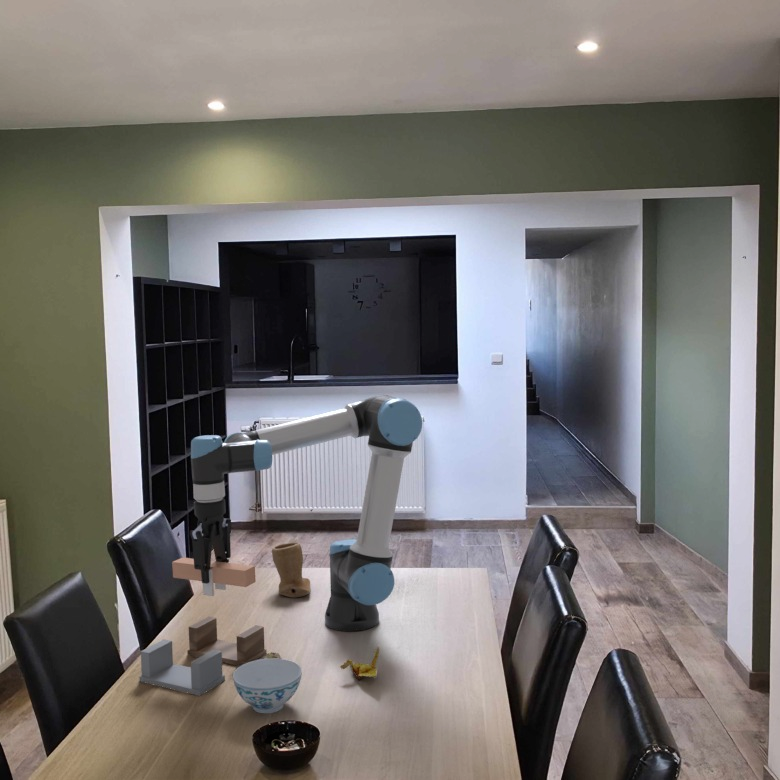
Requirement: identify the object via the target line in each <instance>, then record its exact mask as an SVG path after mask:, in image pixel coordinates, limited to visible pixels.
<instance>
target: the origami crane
mask: <svg viewBox="0 0 780 780" xmlns="http://www.w3.org/2000/svg"><path fill="white" fill-rule="evenodd" d="M379 653H380V647H379V646H377V647H376V649H375V652H374V653H373V658H372V660H371V664H370V663H363V662H355V664H354V662H353V660H352V659H347V660H346V661H345V662H343V663H342V665H340V667H339V668H340V669H341V670H346V669H348V668H349V666H350V668H351V669H350V670H351V672H353V673H354V675H355V677H356V680H358V681H359V680H360V681H361V680H362V679H361V677H363V676H364V677H369V678H371V677H372V678H373V679H376V678H377V677H378V676H377V675H378V668H377V663H378V658H379Z"/></svg>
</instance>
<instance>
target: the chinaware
mask: <svg viewBox="0 0 780 780" xmlns="http://www.w3.org/2000/svg"><path fill="white" fill-rule="evenodd" d="M302 675H303V670H302V666H301V665H299V664H298V663H297V662H296V661H293V660H289V659H285V658H282V659H277V658H270V659H260V658H259V659H257V660H255V661H251V662H248V663H246V664H243V665H242V666H237V668H236V669H235V670H234V671H233V674H232V681H233V683H234V687H235V690H236V692H237V693H238V695H239V697H241V699H242V700H243V701H244V702H245V703H247V704H248V705H249V706H251V707H252V708H253V711H255V712H257V713H260V714H273V713H276V712H279V711H281V710H282V709H283V708H284V706H285V704H286V703H287V702H288V701H289V700H290V699H292V697H293V696H294V695H295V694H296V692H297V690H298V688H299V686H300V684H301V683H300V682H301V680H302Z"/></svg>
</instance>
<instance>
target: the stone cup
mask: <svg viewBox="0 0 780 780" xmlns="http://www.w3.org/2000/svg"><path fill="white" fill-rule="evenodd" d="M271 553H272V554H271V555H272V556H271V557H272V561H273V564H274V566H275V568H276V571H277V573H278V576H279V579H280V582H279V584H278V594H280V595H282V596H285V597H289V598H300V597H305V596H306V595H308V594H310V591H311V580H310V579H309V578H306V577H303V562H304V557H303V556H304V555H303V548H302V545H301V544H300V543H299V542H295V541H294V542H287V543H280V544H277V545H274V546H273V547H272V548H271Z"/></svg>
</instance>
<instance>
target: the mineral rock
mask: <svg viewBox="0 0 780 780" xmlns="http://www.w3.org/2000/svg"><path fill="white" fill-rule="evenodd" d="M270 658H277V659H283V658H282V656H281V655H280V653H278V652H273V651H271V652H270V653H267V654H265V655H264V656H262V657H261V658H259V660H260V659H270Z"/></svg>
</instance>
